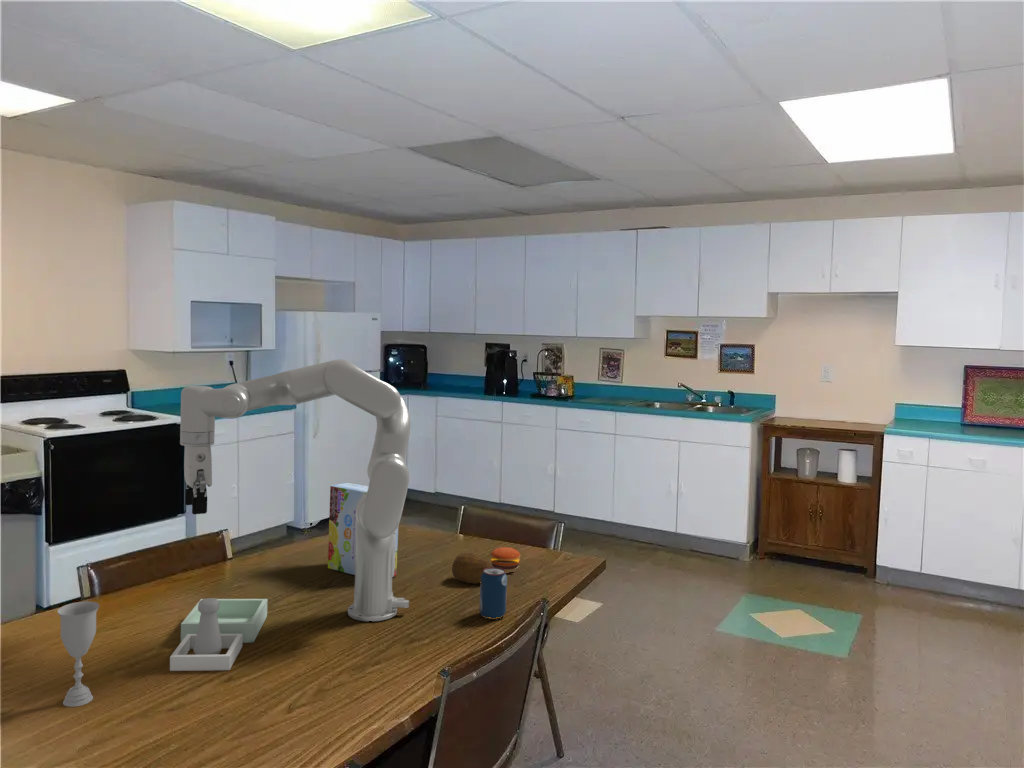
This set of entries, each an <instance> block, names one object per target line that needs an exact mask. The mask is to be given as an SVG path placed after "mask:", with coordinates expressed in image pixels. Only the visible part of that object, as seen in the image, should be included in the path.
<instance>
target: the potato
mask: <svg viewBox="0 0 1024 768" xmlns="http://www.w3.org/2000/svg"><path fill="white" fill-rule="evenodd" d="M490 567H492V564H491V560H487V559H485V558H483V557H481V556H479V554H476V553H474V552H461V553H459V554H458V555H457V556H456V557H455V559H454V560H453V561H452V567H451V572H452V575H453V577H454V578H455V579H457V580H458V581H460V582H463V583H465V582H469V583H468V584H470V583H480V582H481V575H482V573H483V570H484V569H485V568H490Z"/></svg>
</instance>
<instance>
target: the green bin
mask: <svg viewBox="0 0 1024 768" xmlns="http://www.w3.org/2000/svg"><path fill="white" fill-rule="evenodd" d="M203 599H204V598H200V600H199V601H198V602H197V603H196V605H195V606H193V608H192V610H190V612H189V613H188V614H187V616H186V617H185V619H183V621H182V622H181V623H180V643H181V642H182V641H183V639H184V638H185V637H186V635H187V634H197V631H198V626H199V621H200V616H201V612H199V611H198V604H199V602H200V601H201V600H203ZM216 599H217V600H218V601H219V609H218V610H217V617H218V623H219V629H220V634H243V644H250V643H252V644H254V643H255V641H256V639H257V636H258V634H259V633H260V631H261V629H262V627H263V626H264V624H265V621H266V620H267V617H268V598H216Z"/></svg>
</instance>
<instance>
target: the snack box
mask: <svg viewBox="0 0 1024 768" xmlns="http://www.w3.org/2000/svg"><path fill="white" fill-rule="evenodd" d="M368 487H369V485H364V484H363V485H362V484H357V483H351V482H345V483H338V484H331V485H330V487H329V488H330V490H329V492H330V493H329V494H330V495H329V517H328V519H329V520H328V548H327V549H328V551H327V553H328V554H327V555H328V556H327V569H329V570H334V571H338V572H341V573H345V574H350V575H354V576H355V560H356V508H357V504H358V502H359V500H360V499H361V497H362V496H363V495H365V494H366V493H367V491H368ZM398 541H399V526H398V527H397V529H396V530H395V532H394V547H393V572H392V578H394V577H397V572H398V571H397V570H398V568H397V567H398V565H397V564H398V543H399V542H398Z"/></svg>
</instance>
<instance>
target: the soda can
mask: <svg viewBox="0 0 1024 768" xmlns="http://www.w3.org/2000/svg"><path fill="white" fill-rule="evenodd" d="M479 585H480V588H479V590H480V591H479V609H478V610H479V614H480V615H481V617H482V616H485V617H491V618H496V617H501V616H503V615H504V616H505V614H506V611H507V597H508V595H507V593H508V592H507V591H508V575H507V573H505V570H504V569H502V568H496V567H490V568H485V569H484V570H483V573H482V575H481V584H479ZM504 616H503V617H504Z"/></svg>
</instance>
